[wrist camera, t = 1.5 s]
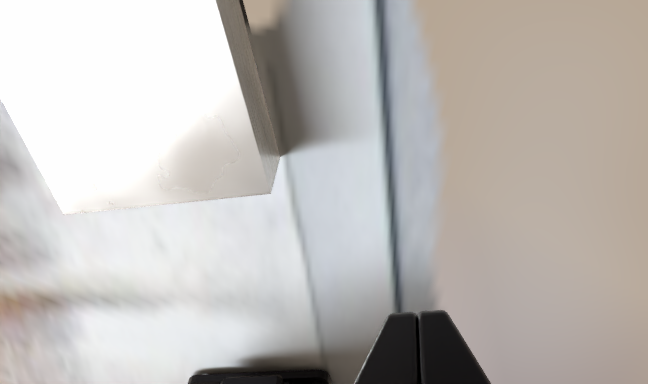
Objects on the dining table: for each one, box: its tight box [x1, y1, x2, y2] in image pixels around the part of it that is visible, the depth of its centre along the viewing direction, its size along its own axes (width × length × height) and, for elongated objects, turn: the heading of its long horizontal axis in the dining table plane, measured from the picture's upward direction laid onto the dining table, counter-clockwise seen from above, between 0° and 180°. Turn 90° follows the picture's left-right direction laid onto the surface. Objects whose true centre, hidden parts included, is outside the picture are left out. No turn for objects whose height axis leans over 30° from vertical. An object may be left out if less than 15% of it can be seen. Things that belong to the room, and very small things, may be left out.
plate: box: [0, 0, 280, 215], centre depth 19 cm, size 7×7×2 cm
